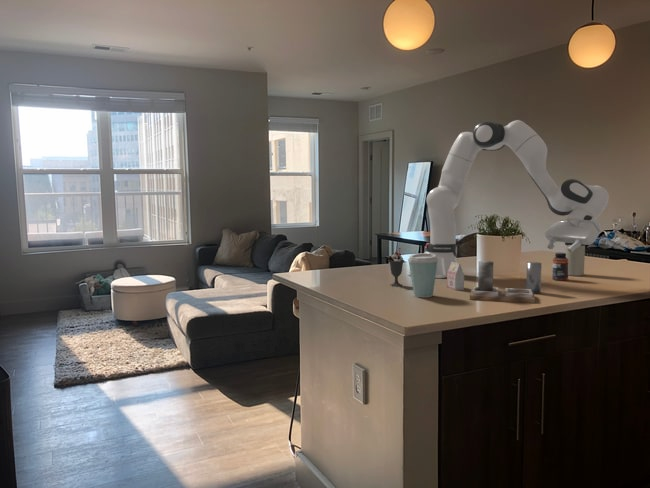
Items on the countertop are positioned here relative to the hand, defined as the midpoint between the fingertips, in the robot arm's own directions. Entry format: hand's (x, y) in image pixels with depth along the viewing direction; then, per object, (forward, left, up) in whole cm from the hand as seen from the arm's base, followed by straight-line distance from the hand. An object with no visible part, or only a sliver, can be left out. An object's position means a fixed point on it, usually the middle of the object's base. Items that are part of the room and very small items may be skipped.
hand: (559, 249), depth 196 cm
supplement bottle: (+3, +23, -16) cm, 28 cm away
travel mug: (+10, +38, -15) cm, 42 cm away
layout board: (-20, -21, -15) cm, 33 cm away
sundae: (-60, -7, -15) cm, 62 cm away
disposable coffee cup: (-47, -25, -16) cm, 56 cm away
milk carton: (-37, -7, -16) cm, 41 cm away
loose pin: (-9, -8, -15) cm, 20 cm away
